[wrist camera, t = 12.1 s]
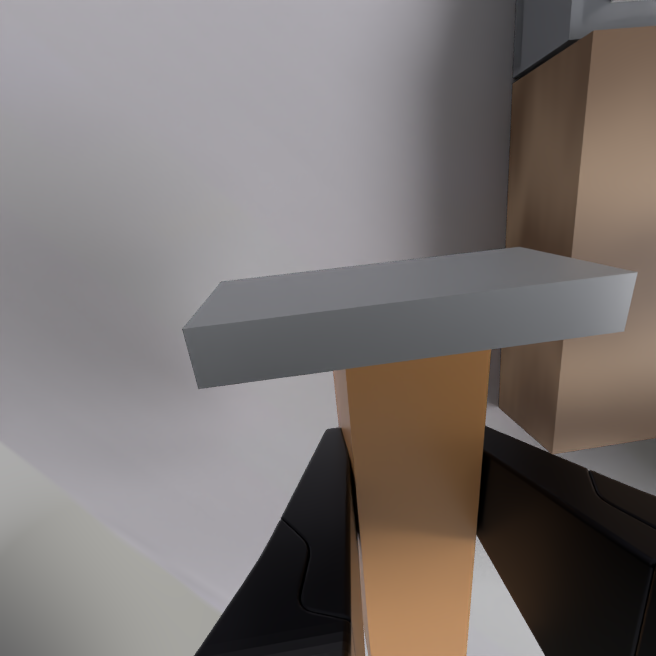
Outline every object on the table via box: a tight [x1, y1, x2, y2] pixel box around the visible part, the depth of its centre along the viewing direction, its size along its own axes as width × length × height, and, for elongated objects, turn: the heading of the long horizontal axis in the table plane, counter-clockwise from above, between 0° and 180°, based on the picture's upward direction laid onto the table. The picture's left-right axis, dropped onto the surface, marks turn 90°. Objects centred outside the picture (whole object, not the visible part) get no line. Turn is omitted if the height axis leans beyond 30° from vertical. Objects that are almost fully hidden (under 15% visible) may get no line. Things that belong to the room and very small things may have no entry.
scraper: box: [182, 247, 638, 656], centre depth 8 cm, size 10×7×3 cm
